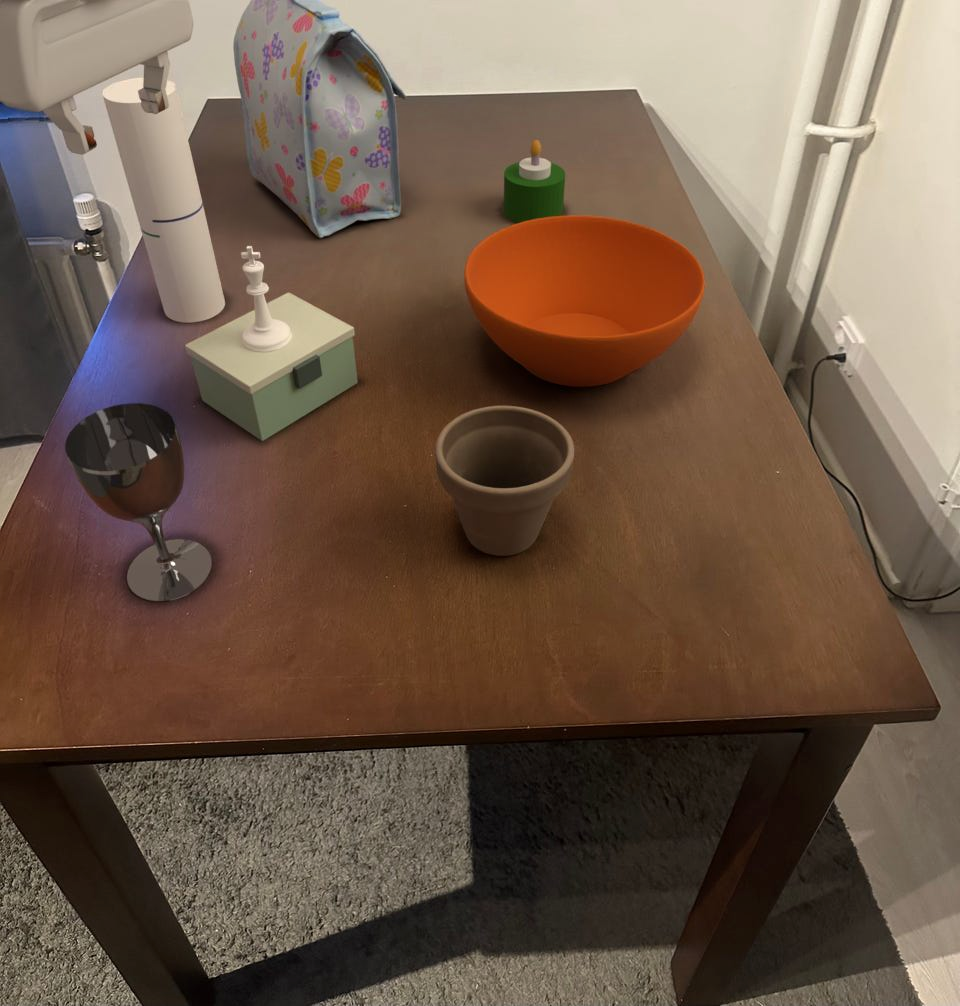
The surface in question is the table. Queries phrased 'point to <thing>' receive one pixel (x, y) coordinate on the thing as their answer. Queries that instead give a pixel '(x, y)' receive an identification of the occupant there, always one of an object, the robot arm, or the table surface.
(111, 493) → the wine glass
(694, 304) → the bowl
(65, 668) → the table surface
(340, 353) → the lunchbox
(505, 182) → the candle
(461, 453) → the flower pot
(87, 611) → the table surface
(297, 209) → the lunch bag
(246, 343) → the chess piece
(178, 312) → the cylindrical container
